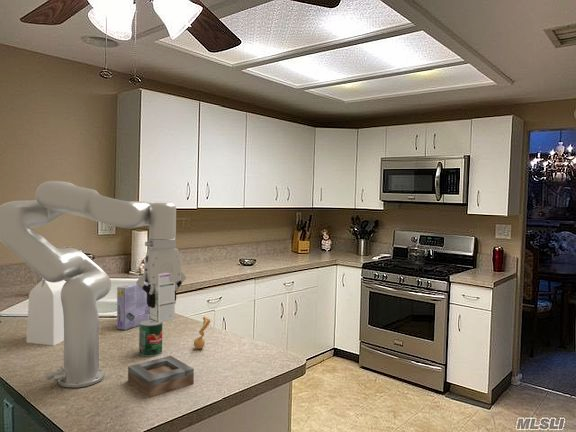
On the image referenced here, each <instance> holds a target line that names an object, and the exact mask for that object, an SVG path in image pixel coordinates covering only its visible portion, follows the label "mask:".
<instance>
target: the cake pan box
mask: <svg viewBox="0 0 576 432" xmlns="http://www.w3.org/2000/svg"><path fill="white" fill-rule="evenodd" d="M144 284H145V285H146V286H147V284H148V283H146V282H145V281H144ZM116 289H117V290H116V329H117V330H118V329H119V330H121V331H127V330H130V329H133V328H135V327H139V322H140V321H143V320H147V319H149V306H148V304H147V293H146V292H145V291H144V290H143V289H142V288H141V287H140V286H139V285H138V284H137V283H132V284H131V283H130V284H126V285H123V286H117V288H116Z"/></svg>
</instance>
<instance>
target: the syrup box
mask: <svg viewBox="0 0 576 432" xmlns="http://www.w3.org/2000/svg"><path fill="white" fill-rule="evenodd" d="M171 274H172V273H171ZM169 275H170V274H169V273H167V272H164V273H160V274H158V284H157V285H155V289H154V292H153V294H155V307H154V308H151V307H149V319H151V320H154V321H156V322H165V323H166V322H169V321H174V320H175V318H176V317H175V316H176V313H175V312H176V307H175V306H176V301H175V282H170V281H169Z"/></svg>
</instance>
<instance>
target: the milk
mask: <svg viewBox="0 0 576 432" xmlns="http://www.w3.org/2000/svg"><path fill="white" fill-rule="evenodd" d="M66 281H67V280H63V281H60V282H55V283H52V282H48V281H46V280H45V279H43V278H42V277H41V280H40V281H39V282H38V283H37V284H36V285H35V286H34V287H32V289H31V290H30V291H29V292H28V304H27V305H28V307H27V308H28V309H27V328H26V329H27V330H26V343H27V344H34V345H35V344H37V345H48V346H55V345H57V344H60V343H62V342H64V315H63V307H62V302H61V289H62V287H63V285H64V284H65V283H66Z"/></svg>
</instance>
